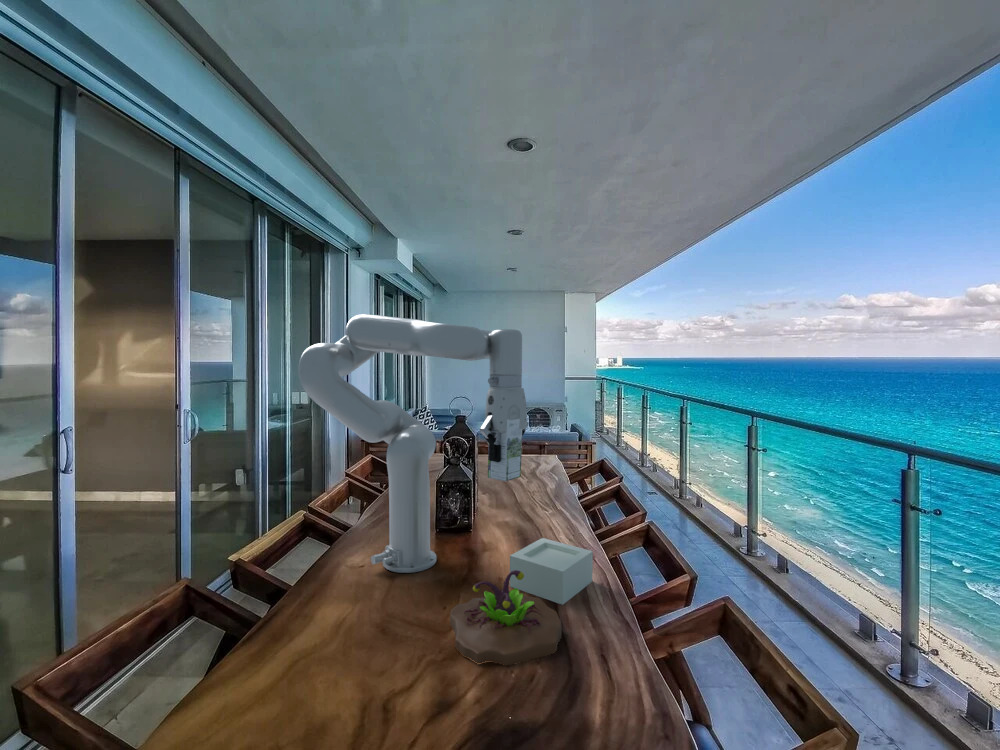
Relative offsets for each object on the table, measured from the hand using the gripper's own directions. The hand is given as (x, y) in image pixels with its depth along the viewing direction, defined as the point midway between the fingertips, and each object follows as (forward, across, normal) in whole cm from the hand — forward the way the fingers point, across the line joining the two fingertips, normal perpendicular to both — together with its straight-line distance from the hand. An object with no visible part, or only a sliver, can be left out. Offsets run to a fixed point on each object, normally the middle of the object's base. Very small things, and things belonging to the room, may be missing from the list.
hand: (504, 458), depth 117 cm
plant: (+26, -20, -20) cm, 38 cm away
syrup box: (+5, 0, 0) cm, 5 cm away
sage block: (+26, 0, -14) cm, 29 cm away
